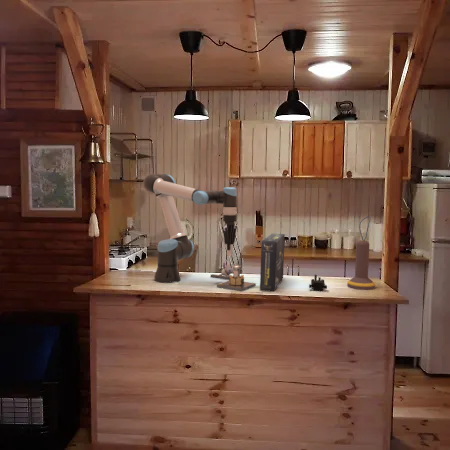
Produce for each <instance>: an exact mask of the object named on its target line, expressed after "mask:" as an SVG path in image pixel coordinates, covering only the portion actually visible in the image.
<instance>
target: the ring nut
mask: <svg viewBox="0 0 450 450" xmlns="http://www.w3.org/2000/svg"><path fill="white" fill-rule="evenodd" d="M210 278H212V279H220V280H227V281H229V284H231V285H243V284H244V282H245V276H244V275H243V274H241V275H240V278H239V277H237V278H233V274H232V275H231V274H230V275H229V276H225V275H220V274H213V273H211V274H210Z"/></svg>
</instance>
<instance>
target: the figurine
mask: <svg viewBox="0 0 450 450" xmlns="http://www.w3.org/2000/svg"><path fill="white" fill-rule="evenodd" d="M225 262H226V263H227V264H226V263H225ZM225 262H223V263H222V270H221V272H220V274H219V275H222V276H230V275H231V274H233V268H232V266H231V265H230V263H229V260H228V259H226V260H225Z"/></svg>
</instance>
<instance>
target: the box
mask: <svg viewBox="0 0 450 450" xmlns="http://www.w3.org/2000/svg"><path fill="white" fill-rule="evenodd" d="M285 235H286V234H285V233H284V234H283V233H271V234H269V235H267V237H266V238H264V239H262V240H261V244H260V245H261V248H260V250H261V251H260V273H259V275H260V277H259V291H262V292H263V291H264V292H275V291H276V290H277V288H278V287H279V285H280V284H281V282H282V280H283V279H284V264H285V263H284V262H285V261H284V260H285V237H286V236H285Z"/></svg>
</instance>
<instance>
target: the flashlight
mask: <svg viewBox="0 0 450 450" xmlns="http://www.w3.org/2000/svg"><path fill="white" fill-rule="evenodd" d="M368 218H369V220H368V224H367V228H366V233H365V237H364V238H363V235H362V231H361V223H362V222H363V221H364V220H365V219H368ZM370 222H371V217H370V216H366V217H364V218H363V219H361V221H360V222H359V227H358V228H359V232H360V236H361V239H362V240H361V239H360V240H358V241H356V244H355V246H356V247H355V269H354V270H355V271H354V277H352V278H350V279H348V281H347V288H349V289H354V290H358V291H359V290H361V291H371V290H375V288H376V283H375V282H374V281H373V280H372V279H370V277H369V264H370V261H369V260H370V243H369V242H370V241H367V240H366V239H367V236H368V231H369V227H370Z"/></svg>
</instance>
